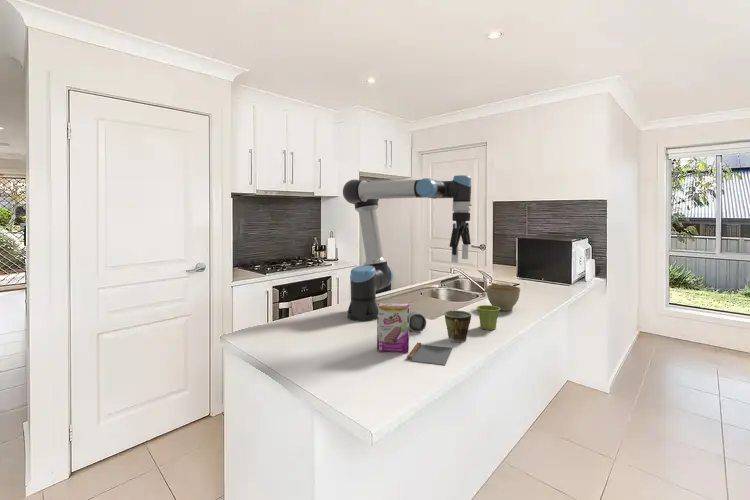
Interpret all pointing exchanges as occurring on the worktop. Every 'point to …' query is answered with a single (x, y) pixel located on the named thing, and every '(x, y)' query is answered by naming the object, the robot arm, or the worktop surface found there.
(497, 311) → the plant pot
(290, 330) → the worktop surface
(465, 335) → the ceramic cup
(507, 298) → the planter bowl
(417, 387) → the worktop surface
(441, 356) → the mat
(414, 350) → the strip
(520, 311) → the worktop surface
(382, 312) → the candy bar box
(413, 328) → the ceramic mug
